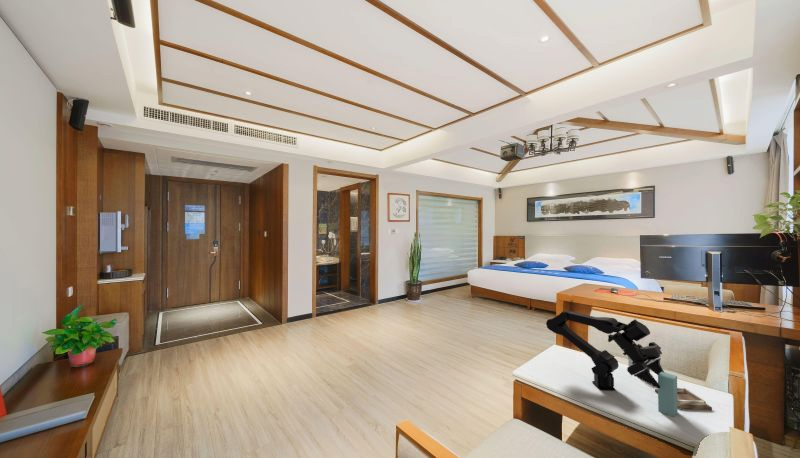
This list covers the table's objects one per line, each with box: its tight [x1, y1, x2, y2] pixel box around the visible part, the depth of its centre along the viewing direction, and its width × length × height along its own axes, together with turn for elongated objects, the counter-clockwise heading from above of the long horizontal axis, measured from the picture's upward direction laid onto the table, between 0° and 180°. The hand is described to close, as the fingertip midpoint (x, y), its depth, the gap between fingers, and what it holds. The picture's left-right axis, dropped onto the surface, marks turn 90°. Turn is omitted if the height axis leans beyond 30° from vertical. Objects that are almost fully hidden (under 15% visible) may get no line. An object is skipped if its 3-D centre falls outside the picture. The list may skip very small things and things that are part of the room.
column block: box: [657, 371, 679, 418], centre depth 114 cm, size 4×4×14 cm
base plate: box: [654, 387, 713, 411], centre depth 120 cm, size 12×12×2 cm
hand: (663, 383), depth 115 cm, fingers open, 9 cm apart
